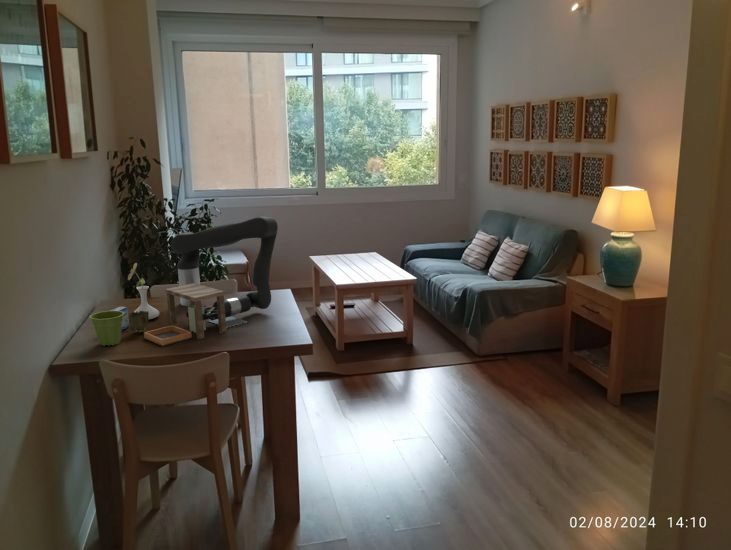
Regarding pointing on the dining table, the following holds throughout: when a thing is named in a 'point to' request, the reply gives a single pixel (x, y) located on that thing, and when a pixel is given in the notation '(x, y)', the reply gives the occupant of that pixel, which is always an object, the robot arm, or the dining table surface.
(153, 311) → the flower in vase
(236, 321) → the slate mat
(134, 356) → the dining table surface
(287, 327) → the dining table surface
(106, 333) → the plant pot
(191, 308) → the sage block
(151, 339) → the shallow orange tray
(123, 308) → the medicine box
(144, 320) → the cup
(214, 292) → the walnut table
